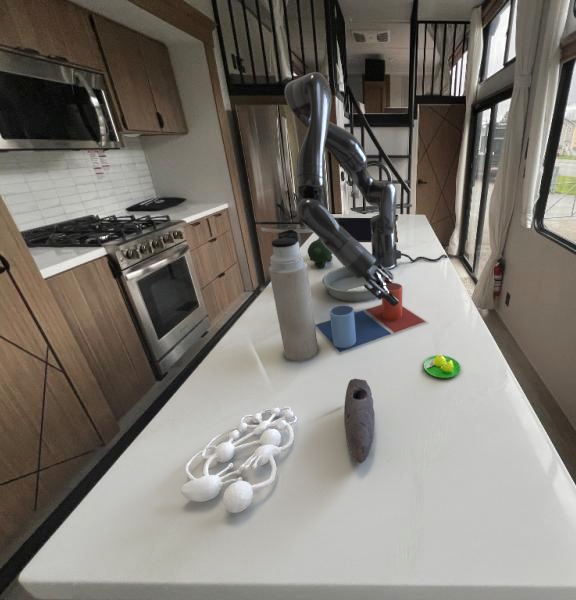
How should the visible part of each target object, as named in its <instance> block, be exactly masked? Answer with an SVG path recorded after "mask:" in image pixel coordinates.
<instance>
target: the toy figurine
mask: <svg viewBox="0 0 576 600" xmlns="http://www.w3.org/2000/svg"><path fill="white" fill-rule="evenodd" d="M307 255H308V257H309V260H310V261H312V262H313V263H314V267H316V268H318V269H322V268H323V269H324V268H325V267H326V262H327V263H330V262H332V260H333V253H331V252H330V251H329V250H328V249H327V248H326V247H325V246H324V245H323V243H322V242H321V240H320V239H316V240H314V241H311V243H310V244H309V246H308V248H307Z"/></svg>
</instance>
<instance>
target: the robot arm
mask: <svg viewBox="0 0 576 600" xmlns="http://www.w3.org/2000/svg"><path fill="white" fill-rule="evenodd" d="M284 98H285V101H286V104H287V105H288V108H289V109H290V111H291V112H292V113H293V115H294V116H295V117H296V118H297V119H298V120H299V121H300V123H302V124H303V125H304V126H305V127H306V128H307V131H306V133H305V136H304V138H303V141H302V143H301V145H300V148H299V151H298V154H297V159H296V186H297V203H296V204H297V207H296V219H297V222H298V224H299V225H300V226H301V227H302V228H303V229H305V230H308V231H311V232H313V233H314V234H315V235H316V236H317V237H318V238H319V240H321V242H322V243H323V245H324V246H325V247H326V248H327V249H328V250H329V251H330V252H331V253H332V255H333V256H334V257H335V258H336V260H338V261H339V263H340V264H341V265H343V267H346V268H347V269H348V270H349V271H350V272H351V273H352V274H353V275H354V276H355V277H356V278H361V277H364V279H365V280H366V282H367V283H366V284H365V285H364V286H363V287H364V289H365V290H368V291H370V292H371V293H372V294H373V295H375V296H376V297H377V298H376V299H378V300H382V298H385V299H386V300H387V301H388V302H389V303H390V304H391V305H392V306H395V305H397V304H398V302H399V300H398V299H397V298H396V297H395V296H393V295H392V294H391V293H390V292H389V291H388V289H387V288H386V284H387V283H395V282H394V279H393V277H392V276H391V275H390V274H389V273H388V272H387V270H386V269H388V270H392V269H395V267H397V266H398V265H397V264H398V263H397V262H398V261H397V260H400V259H402V256H403V257H405V258H408V260H410V261H411V262H412V263H416V262H417V261H418V260H426V261H429V262H438V261H440V260H441V259H442V258H448V255H447V254H444V253H443V254H441V255H440V256H439V257H438V258H429V257H426V256H417V257H416V258H415V259H413V258H412V257H411V256H410V255H409V254H406V253H402V251H401V250H398V248H397V247H398V246H397V243H396V242H395V219H396V215H397V188H396V185H395V184H394V182H392V181H388V180H376V179H375V178H373V177H372V175H371V174H370V172H369V171H368V156H367V152H366V151H365V149H364V147H363V146H362V144H361V143H360V141H359V140H358V138H357V137H356V136H355V135H354V134H352V133H351V132H350V131H348V130H347V129H344V128H343V127H341V126H339V125H337V124H335V123H333V122H332V121H330V119H331V114H332V113H331V112H332V107H333V106H332V105H333V95H332V89H331V85H330V83H329V81H328V80H327V79H326V77H325V76H324V75H323V74H322V73H321V72H317V71H314V72H309V73H307V74H304V75H302V76H300V77H298V78H296V79H293V80H291V81H290V82H288V83H287V84H286V85H285V87H284ZM325 150H327V151H328V152H329V154H331V156H332V158H333V159H334V160H335V162H337V164H338V165H339V166H340V168H341V169H342V170H343V171H344V172H345V173H346V174H347V176H348V177H349V178H350V180H351V181H352V182H353V184H355V186H356V187H357V189H358V191H359V192H360V194H361V195H362V197H363V199H364V200H365V201H366V203H367V204H369V205H370V206H373V207H378V208H379V209H380V210H379V213H378V214H377V215H373V216H371V217H370V243H371V252H369V250H368V249H367V248H365V246H364V245H363V244H362V243H360V242H359V241H358V240H357V239H356V238H354V237H353V236H352V234H350V233H349V232H348V231H347V230H346V228H344V227H343V226H341V225H340V224H339V223H338V221H337V220H336V218H335V216H334V215H332V213H331V212H330V210H328V208H327V207H326V206H325V205H324V204H323V191H324V185H325ZM385 268H386V269H385ZM382 288H383V289H384V290H383V289H382ZM377 292H378V293H379V294H378V293H377Z"/></svg>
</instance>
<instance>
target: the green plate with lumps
mask: <svg viewBox="0 0 576 600" xmlns="http://www.w3.org/2000/svg"><path fill="white" fill-rule="evenodd" d="M432 360H433V365H431V366H429V367H427V364H428V362H429V361H432ZM423 368H424V370H425V371H426V372H427V373H428V374H430V375H431V376H433V377H436V378H443V379H445V378H452V377H455V376H456V375H457V374H459V372H460V370H461V365H460V363H459V362H458V361H457V360H456V359H454V358H453V357H451V356H447V355H442V354H438V355H433V356H429V357H427V358H426V359H425V360H424V362H423Z"/></svg>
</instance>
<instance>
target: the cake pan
mask: <svg viewBox="0 0 576 600" xmlns="http://www.w3.org/2000/svg"><path fill="white" fill-rule="evenodd" d="M385 269H386V268H385ZM386 270H387V272H388V273H389V274H390V275H391V276H392V277H393V280H394V279H395V275H394V273H393V272H392V271H391V269H389V270H388V269H386ZM322 277H323V278H322V284H323V285H324V287H326V288H327V291H328V293H329V295H330V296H332V297H333V298H336V299H338V300H343V301H350V302H361V301H370V300H374V299H378V298H377V297H376V296H375V295H373V294H372V293H371V292H370V291H368V290H367V289H359V290H358V289H357V288H360V287H364V285H365V284H366V283H367V282H366V280H365V279H364V277H361V278H356V277H355V276H354V275H353V274H352V273H351V272H350V271H349V270H348V269H347V268H346V267H345V266H342V267H339V268H336V269H333V270H331V271H329V272H327V273H326V274H325V275H323V276H322ZM354 289H357V290H354ZM377 293H378V292H377ZM378 294H379V293H378Z"/></svg>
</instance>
